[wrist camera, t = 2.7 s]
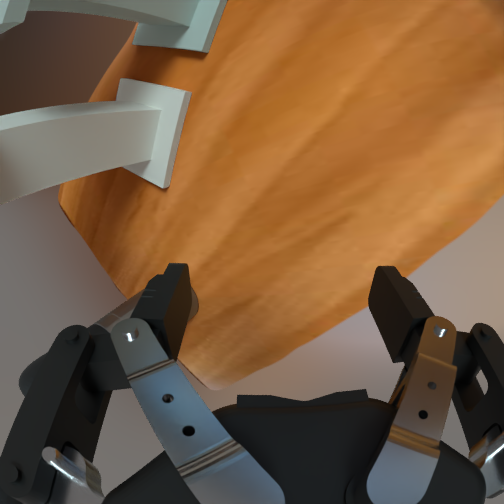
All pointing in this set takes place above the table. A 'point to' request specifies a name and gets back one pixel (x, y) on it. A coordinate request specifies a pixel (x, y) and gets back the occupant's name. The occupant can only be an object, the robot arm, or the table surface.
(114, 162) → the tall pedestal
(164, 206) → the table surface
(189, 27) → the low pedestal
